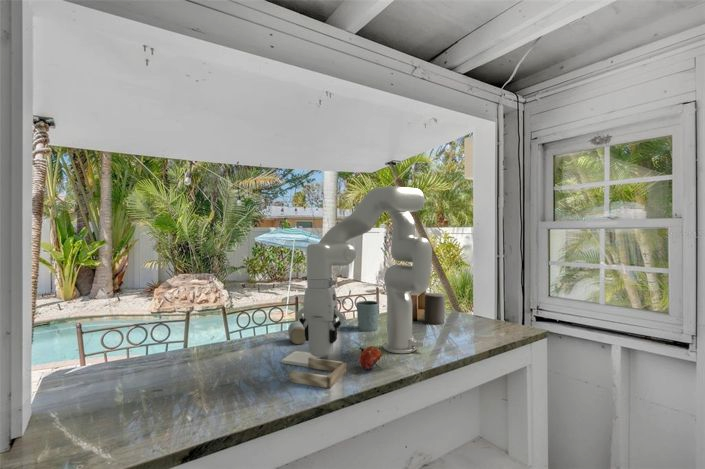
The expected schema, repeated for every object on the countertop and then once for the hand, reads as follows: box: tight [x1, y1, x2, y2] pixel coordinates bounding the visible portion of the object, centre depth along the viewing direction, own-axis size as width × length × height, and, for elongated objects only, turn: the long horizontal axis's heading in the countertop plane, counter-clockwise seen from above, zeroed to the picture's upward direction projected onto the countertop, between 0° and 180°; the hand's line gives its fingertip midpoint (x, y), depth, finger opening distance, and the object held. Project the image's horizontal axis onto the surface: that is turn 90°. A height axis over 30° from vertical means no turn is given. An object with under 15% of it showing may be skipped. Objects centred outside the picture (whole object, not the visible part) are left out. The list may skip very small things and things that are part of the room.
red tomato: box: [358, 345, 383, 371], centre depth 120 cm, size 7×7×10 cm
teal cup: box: [356, 300, 379, 332], centre depth 168 cm, size 10×10×12 cm
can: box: [308, 317, 334, 358], centre depth 114 cm, size 8×8×12 cm
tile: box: [280, 350, 321, 368], centre depth 128 cm, size 10×10×1 cm
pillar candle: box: [423, 291, 446, 326], centre depth 180 cm, size 10×10×15 cm
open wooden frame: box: [289, 358, 348, 389], centre depth 113 cm, size 13×13×3 cm
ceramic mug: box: [287, 320, 307, 345], centre depth 149 cm, size 11×8×8 cm
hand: (320, 340), depth 114 cm, fingers closed on can, 7 cm apart
